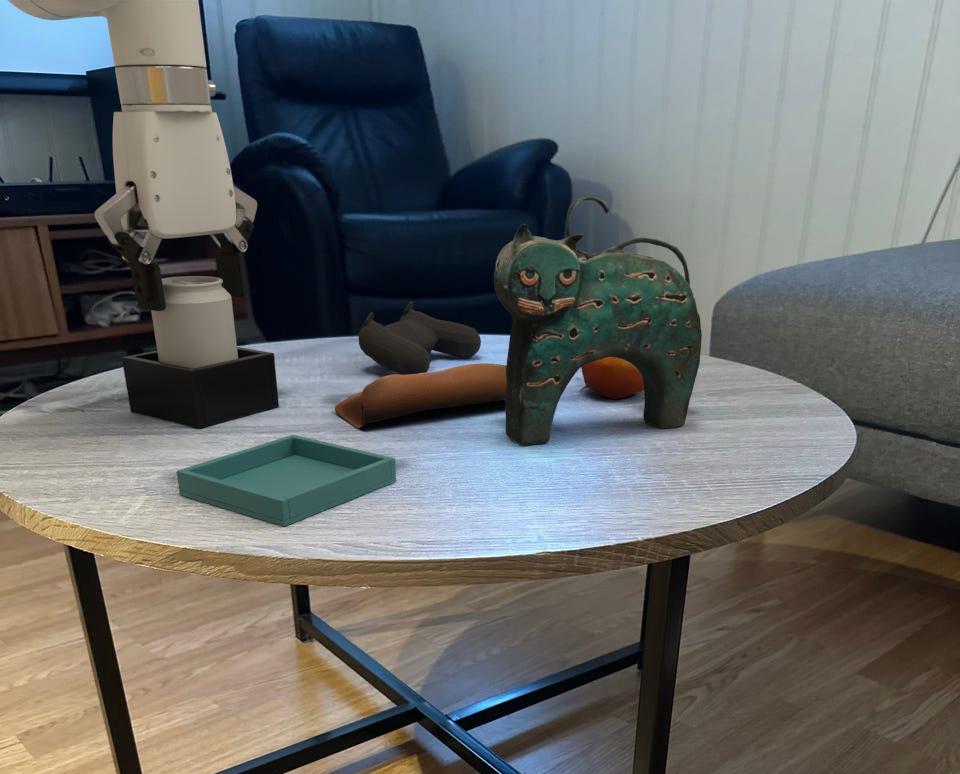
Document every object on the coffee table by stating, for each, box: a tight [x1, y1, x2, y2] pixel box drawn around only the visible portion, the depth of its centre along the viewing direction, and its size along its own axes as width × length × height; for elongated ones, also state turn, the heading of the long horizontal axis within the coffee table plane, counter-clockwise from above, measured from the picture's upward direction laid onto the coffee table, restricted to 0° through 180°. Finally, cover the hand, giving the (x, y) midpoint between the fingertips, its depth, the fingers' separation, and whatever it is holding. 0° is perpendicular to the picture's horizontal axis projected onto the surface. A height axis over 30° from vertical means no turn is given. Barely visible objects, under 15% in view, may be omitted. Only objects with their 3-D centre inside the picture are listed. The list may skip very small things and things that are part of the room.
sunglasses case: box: [334, 363, 507, 430], centre depth 92 cm, size 18×7×7 cm
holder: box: [121, 346, 280, 430], centre depth 92 cm, size 10×10×5 cm
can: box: [150, 275, 238, 369], centre depth 90 cm, size 8×8×12 cm
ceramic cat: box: [493, 194, 703, 447], centre depth 82 cm, size 20×6×20 cm, turn 112°
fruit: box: [579, 357, 644, 400], centre depth 99 cm, size 8×8×8 cm
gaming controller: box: [358, 301, 482, 375], centre depth 111 cm, size 17×6×10 cm
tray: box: [176, 434, 397, 527], centre depth 72 cm, size 12×11×2 cm
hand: (194, 302), depth 89 cm, fingers open, 9 cm apart
